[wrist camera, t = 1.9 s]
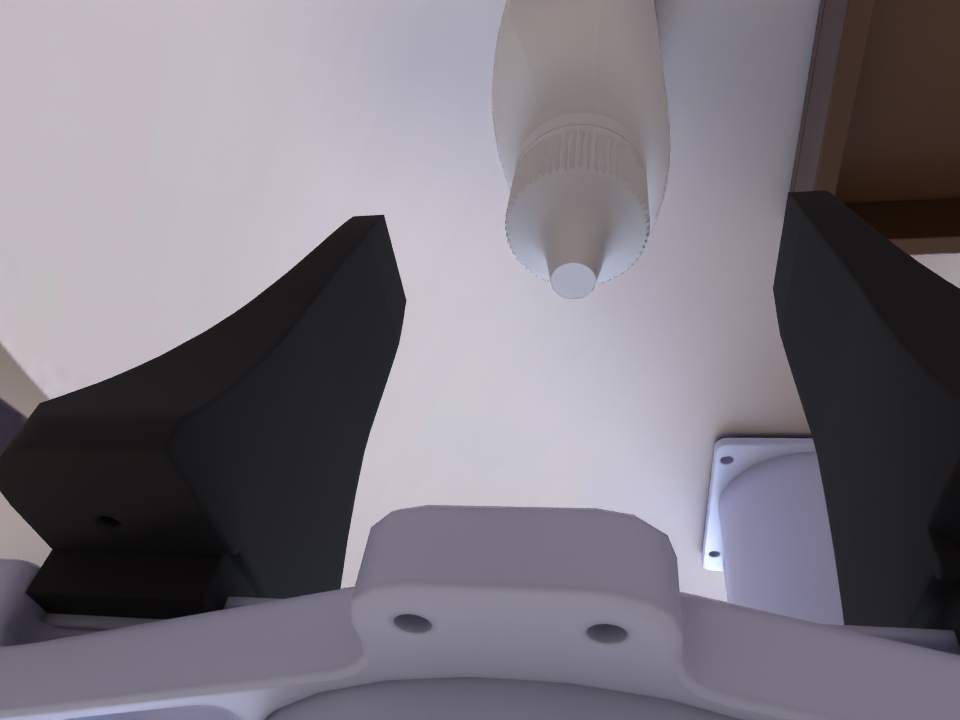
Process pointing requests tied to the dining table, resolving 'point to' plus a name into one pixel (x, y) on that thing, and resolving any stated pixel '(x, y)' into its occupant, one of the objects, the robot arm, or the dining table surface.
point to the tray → (887, 118)
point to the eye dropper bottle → (580, 135)
